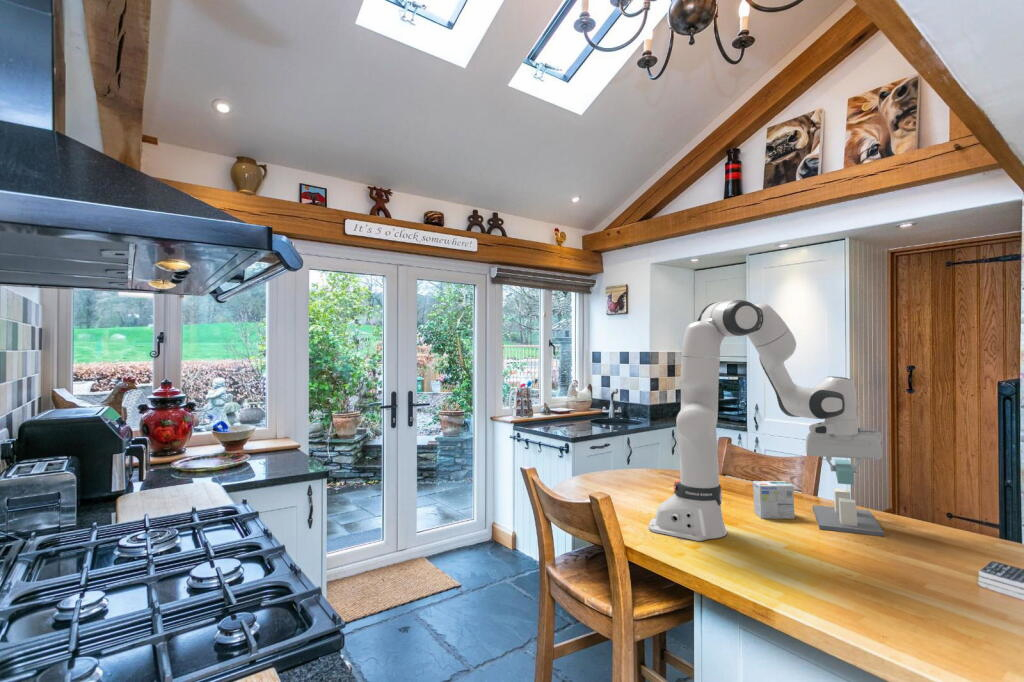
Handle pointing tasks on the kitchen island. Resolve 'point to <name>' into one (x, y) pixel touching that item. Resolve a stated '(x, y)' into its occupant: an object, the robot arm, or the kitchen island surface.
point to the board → (835, 525)
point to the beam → (844, 472)
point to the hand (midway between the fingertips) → (843, 471)
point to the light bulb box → (773, 499)
